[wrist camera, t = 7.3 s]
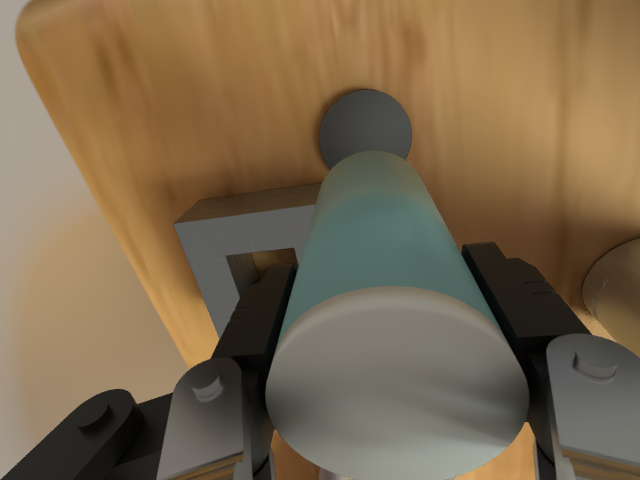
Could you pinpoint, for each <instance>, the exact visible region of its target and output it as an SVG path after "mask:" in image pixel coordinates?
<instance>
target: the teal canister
mask: <svg viewBox="0 0 640 480" xmlns="http://www.w3.org/2000/svg"><path fill="white" fill-rule="evenodd" d="M265 397H266V406H267V410H268V414H269V417H270V419H271V421H272V423H273V425H274V427H275V429H276V430H277V432H278V433H279V435H280V436H281V437H282V438H283V439H284V441H285V442H286V443H287V444H288V445H289V446H290V447H291V448H292V449H294V450H295V451H296V452H297V453H298V454H300V455H301V456H303V457H304V458H305V459H307V460H308V461H310V462H312V463H314V464H316V465H317V466H319V467H321V468H324V469H326V470H328V471H330V472H333V473H336V474H338V475H341V476H344V477H348V478H352V479H355V480H445V479H449V478H452V477H456V476H459V475H462V474H464V473H467V472H470V471H472V470H474V469H476V468H478V467H480V466H482V465H484V464H486V463H487V462H489V461H490V460H492V459H494V458H495V457H496V456H498V455H499V454H500V453H501V452H502V451H504V450H505V449H506V448H507V447H508V446H509V445H510V444H511V443H512V442H513V440H514V439H515V438H516V436H517V435H518V433H519V432H520V430H521V429H522V427H523V424H524V422H525V420H526V418H527V413H528V409H529V389H528V384H527V380H526V378H525V375H524V373H523V371H522V368H521V366H520V365H519V363H518V361H517V359H516V357H515V355H514V353H513V351H512V349H511V348H510V346H509V344H508V342H507V340H506V338H505V336H504V334H503V332H502V330H501V329H500V327H499V325H498V323H497V321H496V319H495V317H494V315H493V313H492V311H491V310H490V308H489V306H488V304H487V302H486V300H485V298H484V296H483V294H482V293H481V291H480V289H479V287H478V285H477V283H476V281H475V279H474V277H473V275H472V274H471V272H470V270H469V268H468V266H467V264H466V262H465V260H464V258H463V256H462V255H461V253H460V251H459V249H458V247H457V245H456V243H455V241H454V239H453V237H452V236H451V234H450V232H449V230H448V228H447V226H446V224H445V222H444V220H443V219H442V217H441V215H440V213H439V211H438V209H437V207H436V205H435V203H434V201H433V200H432V198H431V196H430V194H429V192H428V190H427V188H426V186H425V184H424V182H423V181H422V179H421V177H420V175H419V174H418V172H417V171H416V170H415V169H414V167H413V166H412V165H410V164H409V163H408V162H407V161H405V160H404V159H402V158H401V157H399V156H396V155H394V154H391V153H388V152H382V151H364V152H360V153H356V154H353V155H351V156H349V157H347V158H345V159H343V160H342V161H340V162H339V163H337V164H336V165H335V166H334V167H333V168H332V169H331V170H330V171H329V173H328V174H327V175H326V177H325V179H324V180H323V183H322V185H321V188H320V191H319V194H318V198H317V202H316V205H315V209H314V212H313V216H312V220H311V223H310V227H309V231H308V234H307V238H306V241H305V245H304V249H303V252H302V256H301V260H300V263H299V267H298V270H297V274H296V278H295V281H294V285H293V288H292V292H291V296H290V299H289V303H288V307H287V310H286V314H285V317H284V321H283V325H282V328H281V332H280V336H279V339H278V343H277V346H276V350H275V354H274V357H273V361H272V364H271V368H270V372H269V375H268V379H267V383H266V391H265Z"/></svg>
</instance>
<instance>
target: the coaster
mask: <svg viewBox="0 0 640 480" xmlns="http://www.w3.org/2000/svg"><path fill="white" fill-rule="evenodd" d="M411 139H412V131H411V125H410V121H409V119H408V116H407V114H406V112H405V111H404V109H403V108H402V107H401V105H400V104H399V103H398V102H397V101H396V100H395V99H393V98H392V97H391V96H389V95H387V94H385V93H383V92H380V91H376V90H358V91H354V92H351V93H349V94H346V95H345V96H343V97H341V98H340V99H339V100H337V101H336V102H335V103H334V104H333V105H332V106H331V108H330V109H329V110H328V112H327V113H326V115H325V117H324V119H323V121H322V124H321V128H320V133H319V144H320V150H321V154H322V156H323V159H324V161H325V162H326V164H327V165H328V167H329V168H330V169H332V168H333V167H334V166H335V165H336V164H337V163H339V162H340V161H342V160H343V159H345V158H347V157H349V156H351V155H353V154H356V153H360V152H364V151H382V152H388V153H391V154H394V155H396V156H399V157H401V158H402V159H404V160H405V159H406V157H407V155H408V152H409V149H410V146H411Z"/></svg>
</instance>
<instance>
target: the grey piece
mask: <svg viewBox="0 0 640 480" xmlns="http://www.w3.org/2000/svg"><path fill="white" fill-rule="evenodd" d="M318 480H350V478H348V477H344V476H341V475H338V474H336V473H333V472H330V471H328V470H326V469H324V468H321V467H320V469H319V479H318Z"/></svg>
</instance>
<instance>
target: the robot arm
mask: <svg viewBox="0 0 640 480" xmlns="http://www.w3.org/2000/svg"><path fill="white" fill-rule="evenodd" d="M461 255H462V256H463V258H464V260H465V262H466V264H467V266H468V268H469V270H470V272H471V274H472V275H473V277H474V279H475V281H476V283H477V285H478V287H479V289H480V291H481V293H482V294H483V296H484V298H485V300H486V302H487V304H488V306H489V308H490V310H491V311H492V313H493V315H494V317H495V319H496V321H497V323H498V325H499V327H500V329H501V330H502V332H503V334H504V336H505V338H506V340H507V342H508V344H509V346H510V348H511V349H512V351H513V353H514V355H515V357H516V359H517V361H518V363H519V365H520V366H521V368H522V371H523V373H524V375H525V378H526V380H527V384H528V389H529V409H528V413H527V418H526V420H525V422H529V425H530V427H531V429H532V431H533V433H534V435H535V438H534V445H533V455H534V467H535V479H536V480H640V238H639V239H635V240H632V241H629V242H627V243H625V244H622V245H620V246H618V247H617V248H615V249H613V250H611V251H610V252H608V253H607V254H606V255H604V256H603V257H602V258H601V259H600V260H598V261H597V263H596V264H595V265H594V266H593V267H592V268H591V269H590V271H589V273H588V275H587V276H586V278H585V281H584V284H583V287H582V298H583V302H584V305H585V306H586V308H587V309H588V311H589V312H590V313H591V314H592V315H593V316H594V317H595V318H596V320H597V321H598V322H599V323H600V324H601V325H602V326H603V327H604V328H605V330H606V331H607V332H608V333H609V334H610V335H611V336H612V337H613V338H614V340H615V341H616V342H617V343H616V342H614V341H612V340H609V339H606V338H603V337H599V336H595V335H592V334H591V333H590V331H589V330H588V329H587V328H586V327H585V325H584V324H583V323H582V322H581V321H580V320H579V318H578V317H577V316H576V315H575V314H574V312H573V311H572V310H571V309H570V308H569V306H568V305H567V304H566V303H565V302H564V301H563V299H562V298H561V297H560V296H559V295H558V294H556V291H555V290H554V289H553V287H552V286H551V285H550V284H549V283H547V280H546V279H545V278H544V277H543V276H542V274H541V273H540V272H539V271H538V270H537V268H536V267H534V266H532V265H530V264H528V263H527V262H525V261H523V260H521V259H519V258H510V259H506V257H505V256H504V255H503V253H502V252H501V251H500V249H499V248H498V246H497V245H496V244H495V243H494V242H483V243H474V244H465V245H463V246H462V253H461ZM296 274H297V267H296V265H295V264H294V263H290V264H281V265H272V266H269V267H268V268H267V270H266V273H265V275H264V278H263V280H262V282H261V284H253V285H252V286H251V287H250V288H249V289H247V290H246V291H245V292H244V293H243V294H242V295H241V297H240V299H239V301H238V303H237V305H236V307H235V311H233V313H232V315H231V317H230V321H229V322H228V324H227V326H226V328H225V330H224V332H223V334H222V336H221V338H220V340H219V342H218V344H217V346H216V348H215V350H214V353H213V355H212V357H211V359H209V360H206V361H203V362H201V363H199V364H197V365H196V366H194V367H193V368H191V369H190V370H189V371H187V372H186V373H185V374H184V375H183V376H182V377H181V379H180V380H179V381H178V383H177V384H176V387H175V388H174V391H173V392H172V393H170V394H167V395H164V396H161V397H158V398H155V399H152V400H149V401H146V402H143V403H139V404H137V403H136V402H135V400H134V398H133V397H132V395H131V393H129V392H128V391H126V390H123V389H113V390H108V391H105V392H102V393H100V394H97V395H96V396H94V397H92V398H90V399H88V400H87V401H85V402H84V403H82V404H81V405H80V406H78V407H77V408H76V409H75V410H74V411H73V412H72V413H70V414H69V415H68V416H67V417H66V418H65V419H64V420H63V421H62V422H61V423H60V424H59V425H58V426H57V427H56V428H55V429H54V430H53V431H51V432H50V433H49V434H48V435H47V436H46V437H45V438H44V439H43V440H42V441H41V442H40V443H39V444H38V445H37V446H36V447H35V448H33V450H31V451H30V452H29V453H28V454H27V455H26V456H25V457H24V458H23V459H22V460H21V461H20V462H19V463H18V464H17V465H15V466H14V467H13V468H12V469H11V470H10V471H9V472H8V473H7V474H6V475H5V476H4V477H3V478H2V479H1V480H276V476H275V467H274V458H273V452H272V449H271V446H270V445H271V441H272V436H273V432H274V429H275V427H274V425H273V423H272V421H271V419H270V417H269V414H268V410H267V406H266V397H265V391H266V383H267V379H268V375H269V372H270V368H271V364H272V361H273V357H274V354H275V350H276V346H277V343H278V339H279V336H280V332H281V328H282V325H283V321H284V317H285V314H286V310H287V307H288V303H289V299H290V296H291V292H292V288H293V285H294V281H295V278H296Z"/></svg>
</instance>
